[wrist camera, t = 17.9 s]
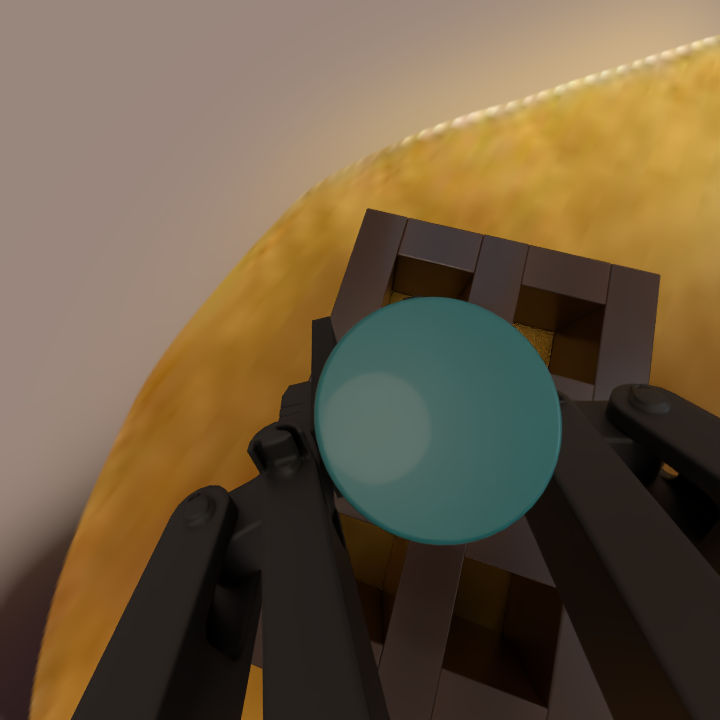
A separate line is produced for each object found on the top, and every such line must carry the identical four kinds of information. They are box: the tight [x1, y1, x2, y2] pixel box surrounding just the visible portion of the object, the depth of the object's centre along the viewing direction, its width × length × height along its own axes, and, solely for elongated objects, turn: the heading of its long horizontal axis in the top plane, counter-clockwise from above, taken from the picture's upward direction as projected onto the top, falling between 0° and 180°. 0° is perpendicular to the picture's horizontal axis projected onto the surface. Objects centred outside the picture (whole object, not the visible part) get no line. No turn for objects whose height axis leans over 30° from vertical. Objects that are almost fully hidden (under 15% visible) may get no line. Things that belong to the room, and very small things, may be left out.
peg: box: [314, 297, 562, 545], centre depth 10 cm, size 3×3×13 cm
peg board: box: [251, 208, 660, 720], centre depth 16 cm, size 16×22×4 cm
